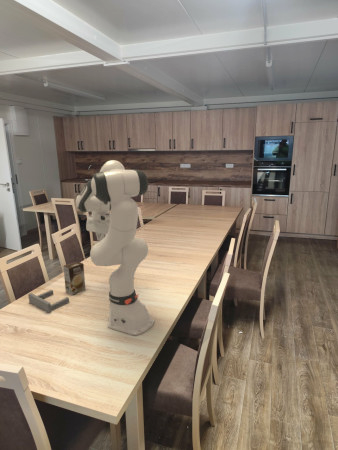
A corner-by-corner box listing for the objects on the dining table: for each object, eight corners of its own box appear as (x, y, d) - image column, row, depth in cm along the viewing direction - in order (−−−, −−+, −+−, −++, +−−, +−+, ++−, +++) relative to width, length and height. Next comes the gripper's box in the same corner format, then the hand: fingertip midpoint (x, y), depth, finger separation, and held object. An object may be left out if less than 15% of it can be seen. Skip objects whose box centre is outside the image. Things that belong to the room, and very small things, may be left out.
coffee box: (71, 295, 162) (69, 268, 157) (65, 292, 165) (62, 265, 161) (86, 289, 168) (83, 263, 164) (79, 286, 172) (77, 260, 168)
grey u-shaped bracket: (70, 302, 154) (69, 294, 153) (48, 313, 144) (47, 304, 143) (50, 293, 164) (49, 285, 163) (29, 302, 155) (28, 293, 153)
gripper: (83, 214, 163) (83, 239, 165) (108, 217, 151) (108, 244, 153) (92, 213, 168) (92, 237, 170) (117, 216, 156) (117, 242, 158)
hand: (100, 240), depth 161 cm, fingers closed
